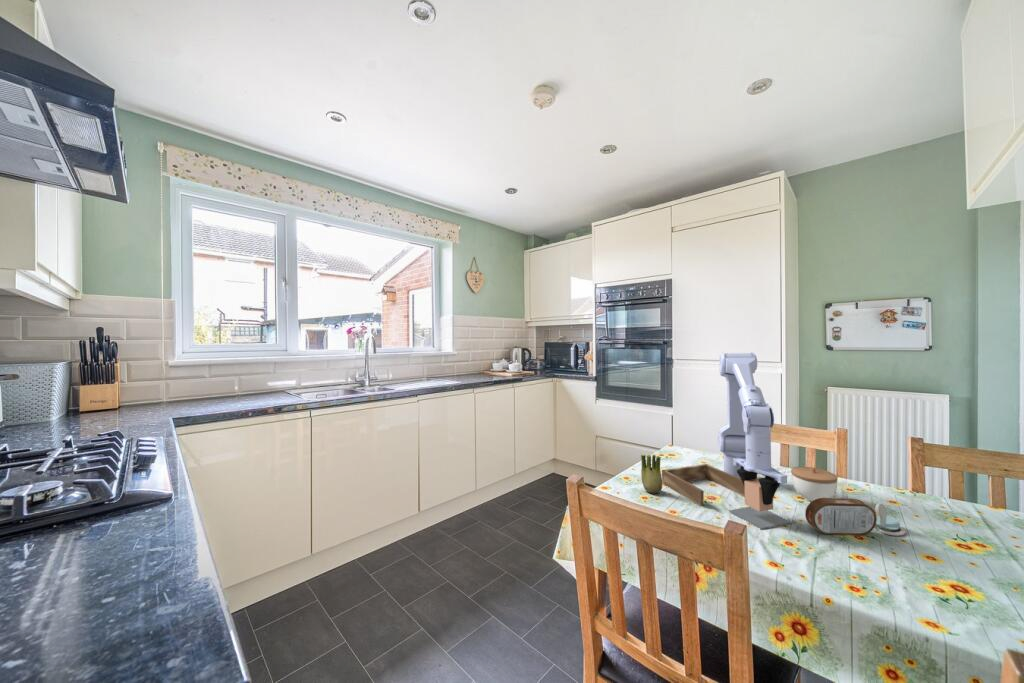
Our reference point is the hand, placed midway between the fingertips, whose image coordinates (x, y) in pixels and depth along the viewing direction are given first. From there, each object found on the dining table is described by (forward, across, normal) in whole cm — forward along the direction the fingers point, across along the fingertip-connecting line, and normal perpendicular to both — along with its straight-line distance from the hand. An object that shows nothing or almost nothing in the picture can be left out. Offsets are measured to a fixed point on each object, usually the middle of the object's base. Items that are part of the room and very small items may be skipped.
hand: (758, 499), depth 100 cm
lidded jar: (+5, -4, +25) cm, 26 cm away
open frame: (+5, -19, -1) cm, 19 cm away
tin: (+5, +12, +12) cm, 18 cm away
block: (+2, 0, 0) cm, 2 cm away
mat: (+5, 0, 0) cm, 5 cm away
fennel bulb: (+5, -23, -17) cm, 29 cm away
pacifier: (+5, +14, +24) cm, 28 cm away
